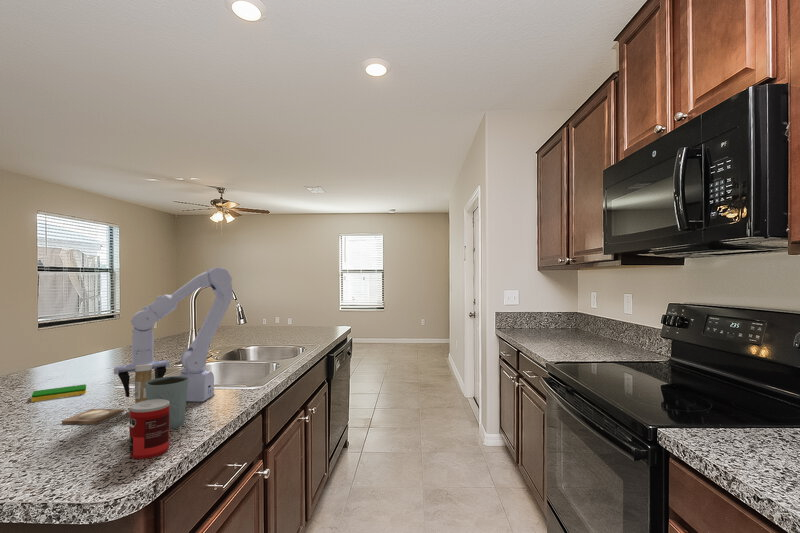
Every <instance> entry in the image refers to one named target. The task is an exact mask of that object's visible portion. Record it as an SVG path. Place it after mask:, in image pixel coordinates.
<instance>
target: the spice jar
mask: <svg viewBox="0 0 800 533" xmlns="http://www.w3.org/2000/svg"><path fill="white" fill-rule="evenodd" d="M152 370H153V369H152V363H151V364H145V365H136V369H135V371H134V373H135V375H134V378H135V379H134V381H135V382H134V399H135V400H134V404H135V403H138V402H141V401H146V400H147V396H146V386H145V383H146V382H147V381H150V380H152Z"/></svg>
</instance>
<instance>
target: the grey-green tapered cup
mask: <svg viewBox="0 0 800 533" xmlns="http://www.w3.org/2000/svg"><path fill="white" fill-rule="evenodd" d="M145 386H146V396H147V400H153V399H164V400H168V401H169V403H170V426H169V430H172V429H175V428H178V427H181V426H182V425H183V424H184V423H185V420H186V418H185V417H186V413H185V411H186V405H187V404H186V403H187V401H186V393H187V386H188V378H187V377H183V376H181V375H179V376H177V375H175V376H174V375H173V376H163V377H162V378H157V379H155V378H154V379H151V380H150V381H147V382H146V383H145Z"/></svg>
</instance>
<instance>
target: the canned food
mask: <svg viewBox="0 0 800 533" xmlns="http://www.w3.org/2000/svg"><path fill="white" fill-rule="evenodd" d="M169 426H170V403H169V401H168V400H164V399H153V400H146V401H141V402H138V403H135V402H134V403H133V404H132V405H130V407H129V428H128V429H129V434H128V435H129V438H128V439H129V443H128V444H129V445H128V447H129V450H128V451H129V452H128V453H129V454H130V457H131V458H132V459H135V460H145V459H146V458H147V459H152V458H156V457H158V456H161V455H163V454H165V453H166V452H167V451H168V450H169V447H170V429H169Z"/></svg>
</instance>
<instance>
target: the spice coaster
mask: <svg viewBox="0 0 800 533" xmlns="http://www.w3.org/2000/svg"><path fill="white" fill-rule="evenodd" d="M122 412H123V413H125V409H124V408H90V409H88V410H85V411H83V412H80V413H78V414H75V415H73V416H70V417H68V418H65V419H63V420H61V424H62V425H63V424H64V425H65V424H66V425H99V424H101V423H103V422H105V421H107V419H108V420H110V419H112V418H114V417H117V416H118V414H119V415H121V414H123V413H122ZM120 413H121V414H120ZM111 417H112V418H111ZM109 418H110V419H109ZM100 422H101V423H100ZM98 423H99V424H98Z"/></svg>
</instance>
